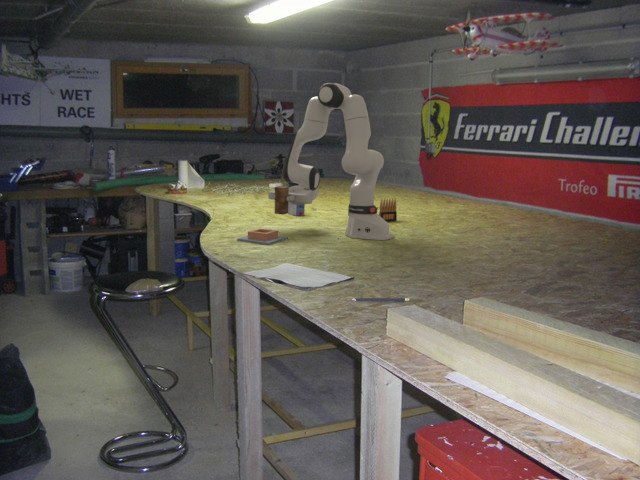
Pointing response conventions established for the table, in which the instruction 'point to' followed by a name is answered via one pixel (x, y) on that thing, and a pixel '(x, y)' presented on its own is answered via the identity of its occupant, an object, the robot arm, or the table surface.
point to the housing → (263, 237)
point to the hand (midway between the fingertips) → (280, 198)
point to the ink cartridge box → (296, 209)
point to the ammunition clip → (388, 210)
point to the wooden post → (281, 200)
